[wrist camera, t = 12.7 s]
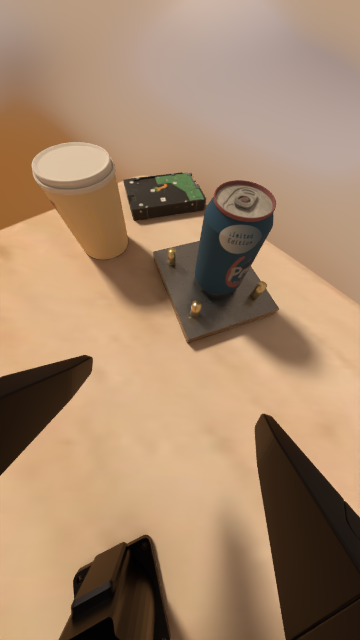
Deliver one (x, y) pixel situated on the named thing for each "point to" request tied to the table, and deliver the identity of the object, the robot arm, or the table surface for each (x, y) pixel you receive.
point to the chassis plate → (209, 295)
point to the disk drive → (163, 195)
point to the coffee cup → (84, 195)
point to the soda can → (232, 234)
